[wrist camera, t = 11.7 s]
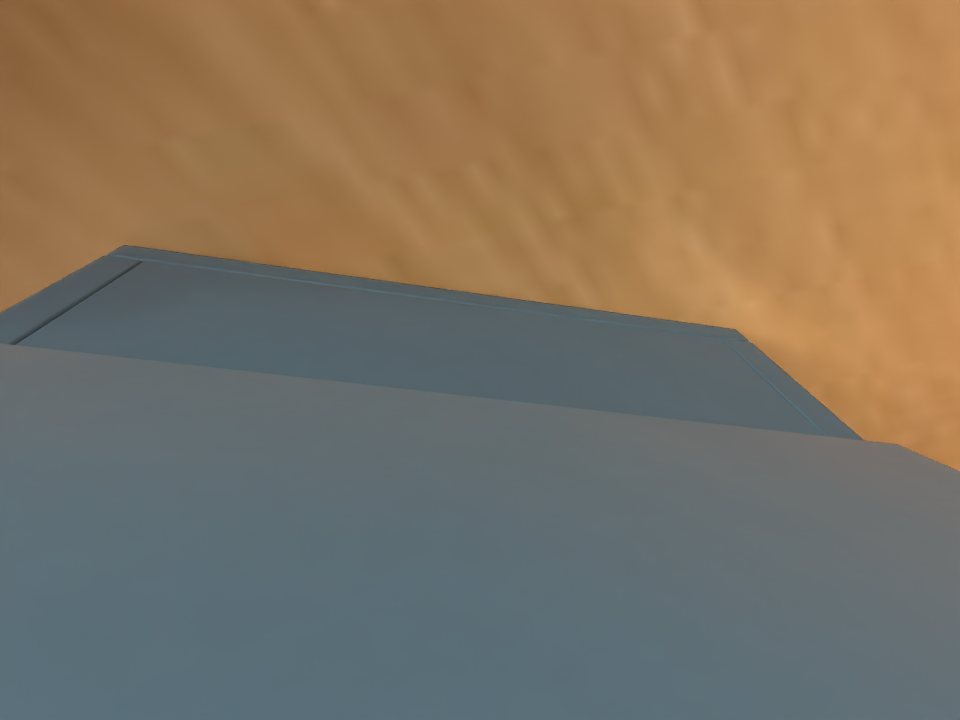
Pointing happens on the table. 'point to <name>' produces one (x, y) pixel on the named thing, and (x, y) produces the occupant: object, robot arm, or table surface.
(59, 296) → the box
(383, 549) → the lunchbox lid
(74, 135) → the table surface
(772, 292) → the table surface
